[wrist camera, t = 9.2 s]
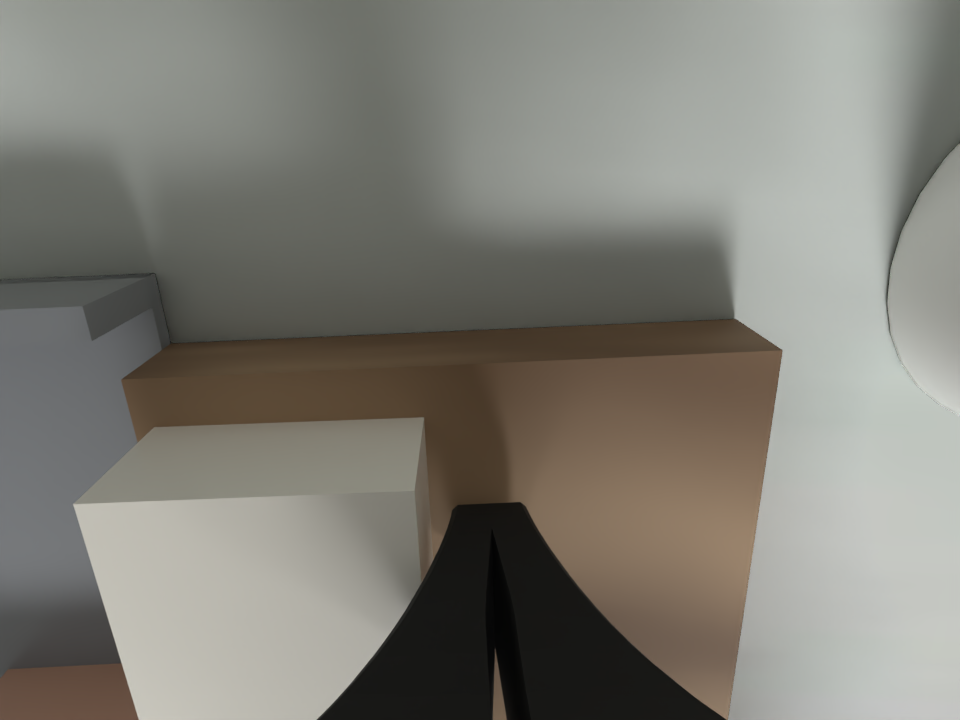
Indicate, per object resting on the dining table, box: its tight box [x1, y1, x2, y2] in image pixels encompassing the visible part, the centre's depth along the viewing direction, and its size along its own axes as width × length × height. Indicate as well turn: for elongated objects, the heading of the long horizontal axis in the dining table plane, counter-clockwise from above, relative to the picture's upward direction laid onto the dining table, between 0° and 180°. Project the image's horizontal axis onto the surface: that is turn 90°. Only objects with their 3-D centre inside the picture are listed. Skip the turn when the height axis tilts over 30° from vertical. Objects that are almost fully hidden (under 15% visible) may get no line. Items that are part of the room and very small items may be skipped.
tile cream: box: [73, 417, 433, 720], centre depth 11 cm, size 5×5×2 cm
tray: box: [0, 273, 171, 678], centre depth 14 cm, size 17×9×2 cm, turn 2°
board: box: [121, 319, 783, 720], centre depth 14 cm, size 14×12×2 cm
